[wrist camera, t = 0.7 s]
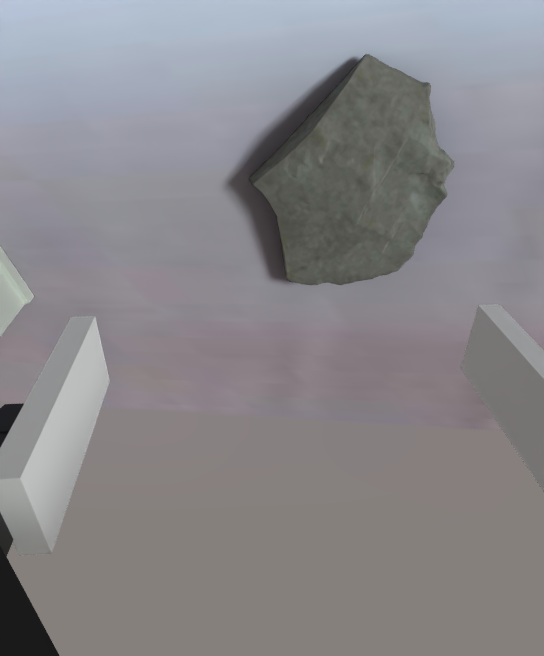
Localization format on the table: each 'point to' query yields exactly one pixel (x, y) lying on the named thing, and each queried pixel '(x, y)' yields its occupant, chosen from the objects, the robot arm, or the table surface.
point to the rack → (11, 292)
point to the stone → (357, 178)
